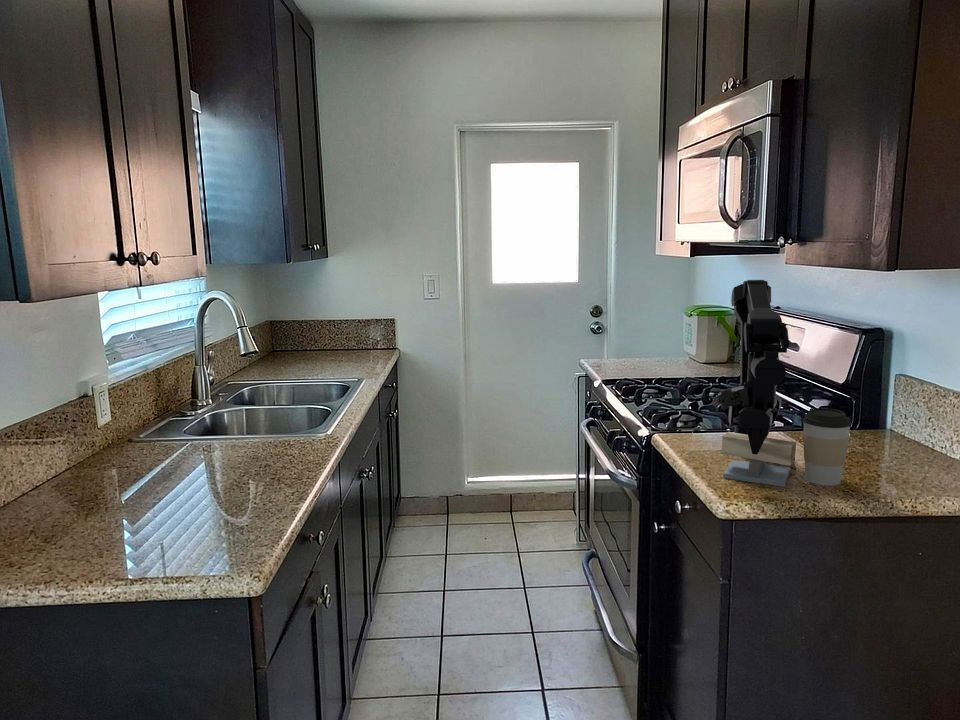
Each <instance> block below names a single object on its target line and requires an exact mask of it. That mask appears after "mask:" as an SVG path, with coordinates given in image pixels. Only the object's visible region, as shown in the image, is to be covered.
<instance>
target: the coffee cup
mask: <svg viewBox="0 0 960 720" xmlns="http://www.w3.org/2000/svg"><path fill="white" fill-rule="evenodd" d="M802 422H803V431H802V435H803V437H802V440H803V459H804V478H805V480H806V481H807V482H809V483H811V484H815V485H821V486H827V487H829V486H839V485H840V484H841V482H842V478H843V471H844V465H845V463H846V457H847V454H848V453H847V452H848V448H849V442H850V428H851V426H852V422H851V418H850V417H848V416H847V415H846V413H845V412H844V411H841V410H840V409H835V408H834V409H833V408H824V407H822V408H821V407H820V408H813V407H810V408H809V410H808V413H805V414H804V416H803V419H802Z"/></svg>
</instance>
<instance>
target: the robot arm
mask: <svg viewBox="0 0 960 720" xmlns="http://www.w3.org/2000/svg"><path fill="white" fill-rule="evenodd" d="M730 301H731V302H730V303H731V307H733V313H734V314H733V315H734V316H735V318H736V319H737V320H738V323H740V366H739V367H740V368H739V369H740V372H739V374H740V377H739V378H740V379H739V380H740V384H739V385H738V386H736V387H732V388H729V387H728V388H727V389H722V390H721V391H720V392H718V394H717V402H718V404H720V407H721V409H723V410H724V409H727V408H728V423H729V426H734V433H739V434H746V435H748V438H749V442H750V447H751V451H752V454H756V455H757V454H758V453H759V450H760V448H761V446H762V444H763V442H764V440H765V438H768V435H769V433H770V431H771V429H772V427H773V425H774V423H775V421H776V419H777V418H778V414H779V413H780V410H781V407H782V398H781V397H780V396H779V395H778V394H777V387H778V385H779V384H781V383H782V382H783V381H784V380H785V377H786V374H787V371H786V366H785V365H784V363H783V362H782V361H781V360H780V357H779V353H780V354H781V353H782V354H784V353H788V349H789V348H790V340H789V331H788V328H787V326H786V322H783V319H782V317H781V314H780V313H779V312H777V311H775V310H772V306H771V303H772V287H771V286H770V285H769V282H768V280H765V279H747V280H744V281H743V282H742V283H741V284H739V285H736V286H734V287H733V288H732V290H731V300H730ZM775 407H776V408H775Z"/></svg>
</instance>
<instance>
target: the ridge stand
mask: <svg viewBox="0 0 960 720" xmlns="http://www.w3.org/2000/svg"><path fill="white" fill-rule="evenodd" d="M766 463H767V462H766V461H760V460H755V459H750V461H745V460H744V461H743V460H736V459H731V461H730V463H729V464H728V465H727V467H726V469H725V471H724V472H723V477H722V478H724V479H729V480H736V481H742V482H750V483H757V484H763V485H770V486H774V487H775V486H776V487H782V488H785V487H786V483H787V482H788V479H789V476H790V474H791V467H789V466H788V467H787V466H780V465H773V464H766Z"/></svg>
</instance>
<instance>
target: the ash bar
mask: <svg viewBox="0 0 960 720" xmlns="http://www.w3.org/2000/svg"><path fill="white" fill-rule="evenodd" d="M721 438H722V440H721V454H722V455H726V456H727V455H728V456H732V457H738V458H744V459H749V460H751V459H755V460H760V461H766V463H774V464H778V465H785V466H792V465H793V463H794V462H795V461H796V451H797V449H796V448H797V442H796V441H790V440H785V439H778V438H772V437H767V438H765V440H764V442H763V444H762V446H761V448H760V450H759V453H758V454H757V455H756V454H752V451H751V447H750V442H749V438H748V435H746V434H739V433H735V432H734V431H733V432H731V431H727V432H726V433H725V434H723V435H722V437H721Z"/></svg>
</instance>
